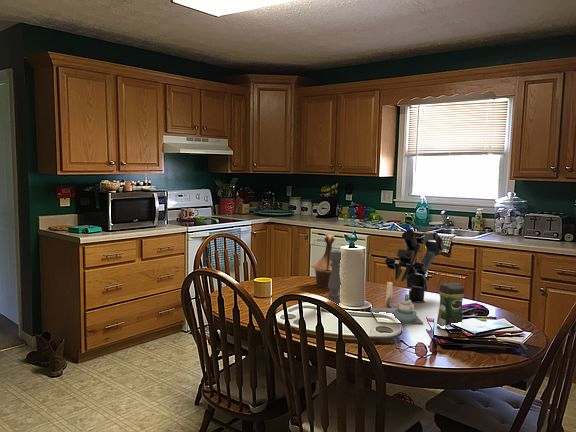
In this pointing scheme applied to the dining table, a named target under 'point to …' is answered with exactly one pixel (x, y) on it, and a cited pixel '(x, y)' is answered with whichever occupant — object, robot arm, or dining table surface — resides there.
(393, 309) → the mat
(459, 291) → the coffee jar
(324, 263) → the brown tall piece
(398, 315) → the teal round piece
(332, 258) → the candle holder
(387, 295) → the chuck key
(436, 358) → the dining table surface
